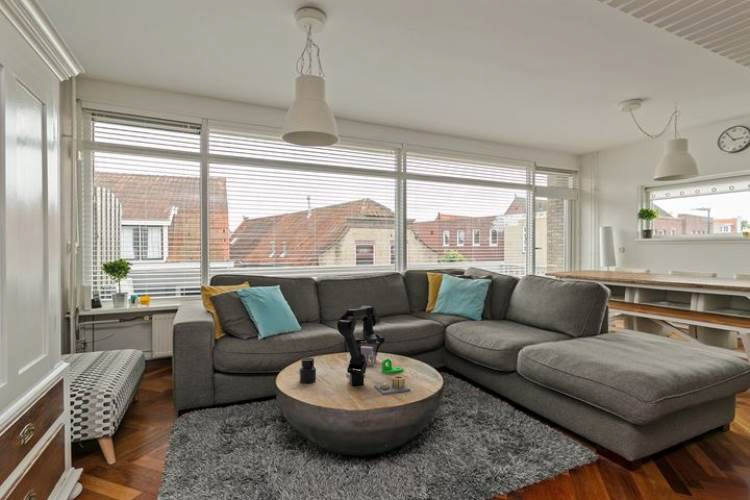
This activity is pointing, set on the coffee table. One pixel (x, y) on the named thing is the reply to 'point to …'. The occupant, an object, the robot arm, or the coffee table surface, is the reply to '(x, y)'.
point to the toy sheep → (367, 352)
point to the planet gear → (398, 382)
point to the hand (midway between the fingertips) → (367, 355)
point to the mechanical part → (390, 367)
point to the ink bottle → (307, 370)
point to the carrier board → (390, 388)
